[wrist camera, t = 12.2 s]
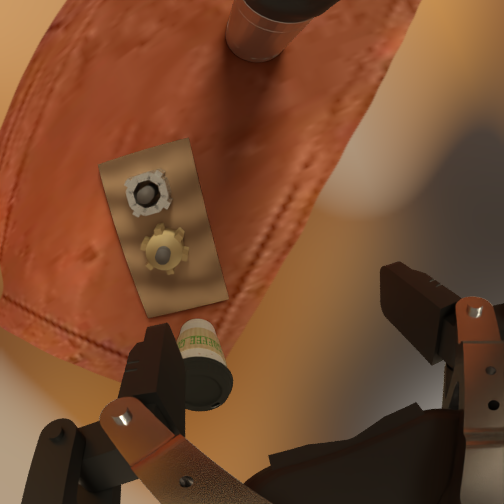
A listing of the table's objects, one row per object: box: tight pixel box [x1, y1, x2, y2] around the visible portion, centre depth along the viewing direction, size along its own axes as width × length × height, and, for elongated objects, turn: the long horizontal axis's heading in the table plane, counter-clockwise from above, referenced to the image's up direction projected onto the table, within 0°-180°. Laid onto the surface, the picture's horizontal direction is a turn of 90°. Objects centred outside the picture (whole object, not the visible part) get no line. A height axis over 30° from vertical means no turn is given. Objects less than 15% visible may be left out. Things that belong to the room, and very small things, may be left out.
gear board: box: [98, 138, 229, 318], centre depth 44 cm, size 26×14×8 cm, turn 12°
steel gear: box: [124, 168, 173, 218], centre depth 42 cm, size 6×6×4 cm
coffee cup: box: [176, 319, 233, 411], centre depth 47 cm, size 10×10×15 cm
